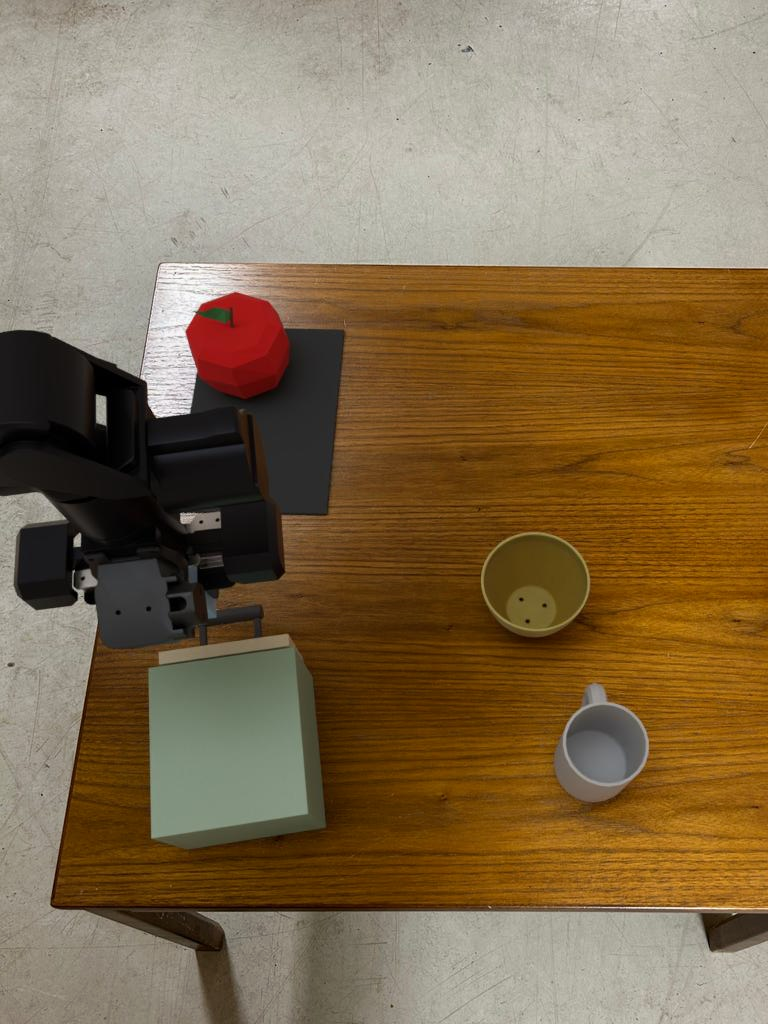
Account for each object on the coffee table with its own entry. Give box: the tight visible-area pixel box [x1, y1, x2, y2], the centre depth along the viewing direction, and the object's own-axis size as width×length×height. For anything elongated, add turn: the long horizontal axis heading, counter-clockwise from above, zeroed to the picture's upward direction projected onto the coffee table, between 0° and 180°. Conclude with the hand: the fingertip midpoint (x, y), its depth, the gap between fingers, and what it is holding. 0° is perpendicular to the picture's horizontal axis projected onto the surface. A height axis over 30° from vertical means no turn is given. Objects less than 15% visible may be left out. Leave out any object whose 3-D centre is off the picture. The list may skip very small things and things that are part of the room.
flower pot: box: [480, 531, 591, 638], centre depth 77 cm, size 10×10×7 cm
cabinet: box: [147, 647, 327, 851], centre depth 71 cm, size 15×13×9 cm
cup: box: [553, 682, 650, 803], centre depth 72 cm, size 7×10×9 cm
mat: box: [184, 327, 345, 516], centre depth 88 cm, size 16×24×1 cm, turn 179°
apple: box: [185, 291, 289, 399], centre depth 85 cm, size 11×11×10 cm
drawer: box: [158, 604, 304, 666], centre depth 73 cm, size 18×11×7 cm, turn 9°
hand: (190, 596), depth 67 cm, fingers closed on block, 4 cm apart
